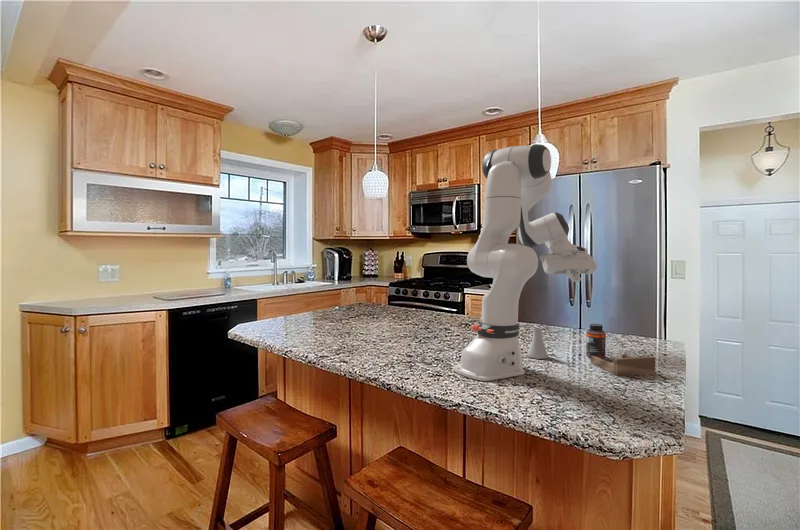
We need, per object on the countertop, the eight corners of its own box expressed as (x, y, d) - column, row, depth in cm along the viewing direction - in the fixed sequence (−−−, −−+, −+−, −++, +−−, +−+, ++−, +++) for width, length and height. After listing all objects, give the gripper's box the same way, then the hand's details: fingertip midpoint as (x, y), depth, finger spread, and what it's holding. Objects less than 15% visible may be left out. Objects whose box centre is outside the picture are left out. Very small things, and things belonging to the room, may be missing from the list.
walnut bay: (590, 363, 129) (591, 348, 129) (625, 361, 131) (625, 346, 131) (616, 376, 117) (617, 359, 116) (654, 374, 118) (655, 357, 118)
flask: (550, 360, 133) (550, 330, 132) (527, 359, 134) (528, 329, 134) (546, 354, 140) (547, 326, 139) (525, 353, 141) (525, 325, 141)
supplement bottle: (604, 355, 138) (605, 323, 137) (605, 360, 133) (606, 326, 132) (585, 353, 141) (586, 322, 140) (586, 358, 135) (586, 325, 134)
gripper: (541, 248, 153) (553, 275, 144) (590, 248, 156) (605, 275, 146) (535, 259, 158) (547, 286, 148) (583, 259, 160) (597, 285, 151)
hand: (576, 280), depth 147 cm, fingers closed
